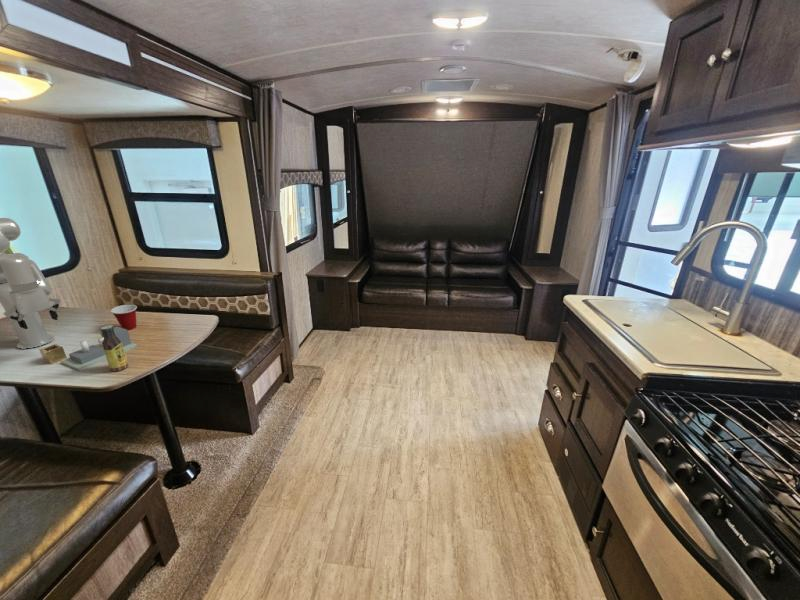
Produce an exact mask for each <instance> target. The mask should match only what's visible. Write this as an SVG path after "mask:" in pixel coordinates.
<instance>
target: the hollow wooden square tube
mask: <svg viewBox="0 0 800 600" xmlns="http://www.w3.org/2000/svg"><path fill="white" fill-rule="evenodd" d="M39 352H40V354H41V357H42V359H43V362H45V363H47V364H50V365H53V364H55V363H58V362H61V361H62V360H65V359H67V358H68V357H67V355H66V352H65V350H64V347H63V345H59V344H58V343H55V344H51V345H49V346H46V347H43V348H40V349H39Z"/></svg>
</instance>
